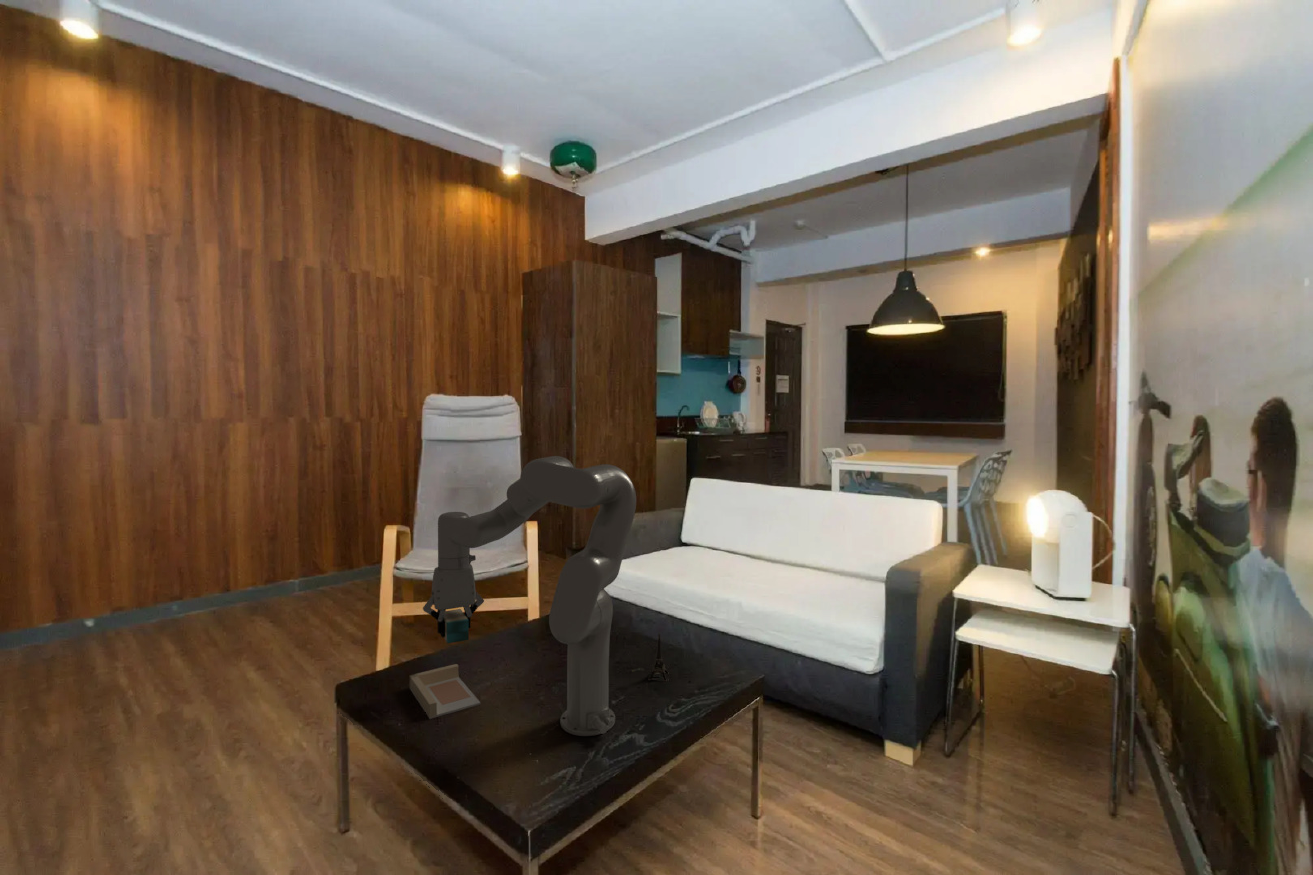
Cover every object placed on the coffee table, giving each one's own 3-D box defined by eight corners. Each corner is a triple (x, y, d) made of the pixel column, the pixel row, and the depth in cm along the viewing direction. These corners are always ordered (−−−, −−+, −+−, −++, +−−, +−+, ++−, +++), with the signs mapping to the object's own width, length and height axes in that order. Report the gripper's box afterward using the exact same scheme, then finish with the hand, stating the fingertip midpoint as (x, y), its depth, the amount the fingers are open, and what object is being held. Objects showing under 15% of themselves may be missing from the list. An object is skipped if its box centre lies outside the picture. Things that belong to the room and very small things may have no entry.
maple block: (460, 627, 158) (460, 608, 158) (468, 639, 150) (468, 620, 150) (440, 631, 156) (440, 611, 155) (447, 643, 148) (447, 623, 148)
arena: (480, 704, 149) (480, 690, 148) (429, 719, 142) (429, 704, 141) (456, 676, 163) (456, 663, 163) (409, 688, 156) (409, 675, 156)
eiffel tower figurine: (692, 684, 162) (693, 634, 161) (662, 694, 156) (663, 643, 155) (659, 663, 174) (659, 618, 173) (629, 672, 168) (630, 625, 167)
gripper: (484, 554, 159) (484, 622, 161) (415, 562, 151) (415, 634, 152) (492, 561, 153) (492, 632, 154) (420, 570, 144) (420, 645, 146)
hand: (454, 632), depth 153 cm, fingers closed on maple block, 5 cm apart
